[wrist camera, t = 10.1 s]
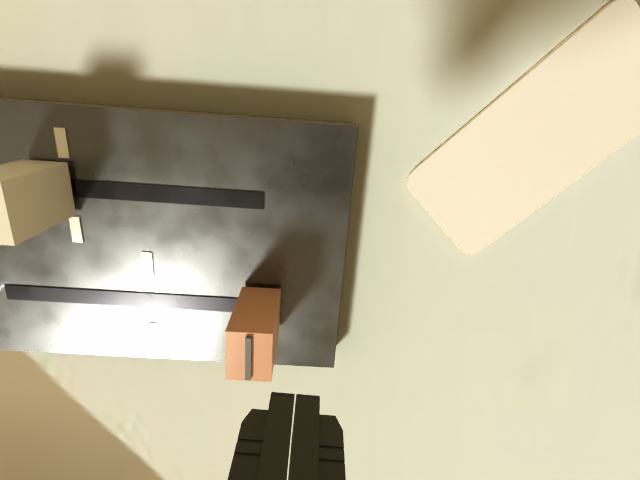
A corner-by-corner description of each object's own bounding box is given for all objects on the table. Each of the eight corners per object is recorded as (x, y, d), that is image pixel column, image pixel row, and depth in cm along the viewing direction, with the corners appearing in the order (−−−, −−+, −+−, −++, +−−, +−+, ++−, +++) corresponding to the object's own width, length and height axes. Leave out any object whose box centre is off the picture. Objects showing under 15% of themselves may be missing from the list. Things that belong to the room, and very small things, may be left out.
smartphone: (401, 180, 24) (629, -13, 20) (398, 177, 24) (618, -10, 21) (469, 260, 26) (688, 98, 22) (465, 255, 26) (677, 98, 23)
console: (-65, 92, 22) (-117, 92, 19) (355, 123, 23) (359, 127, 20) (-2, 331, 28) (-35, 356, 25) (332, 349, 28) (334, 375, 26)
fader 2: (242, 286, 24) (224, 333, 19) (281, 288, 24) (272, 336, 19) (242, 327, 25) (224, 381, 20) (279, 329, 25) (270, 384, 20)
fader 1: (22, 159, 21) (-62, 178, 16) (67, 162, 21) (-4, 182, 16) (33, 212, 22) (-43, 243, 17) (75, 214, 22) (11, 247, 18)
